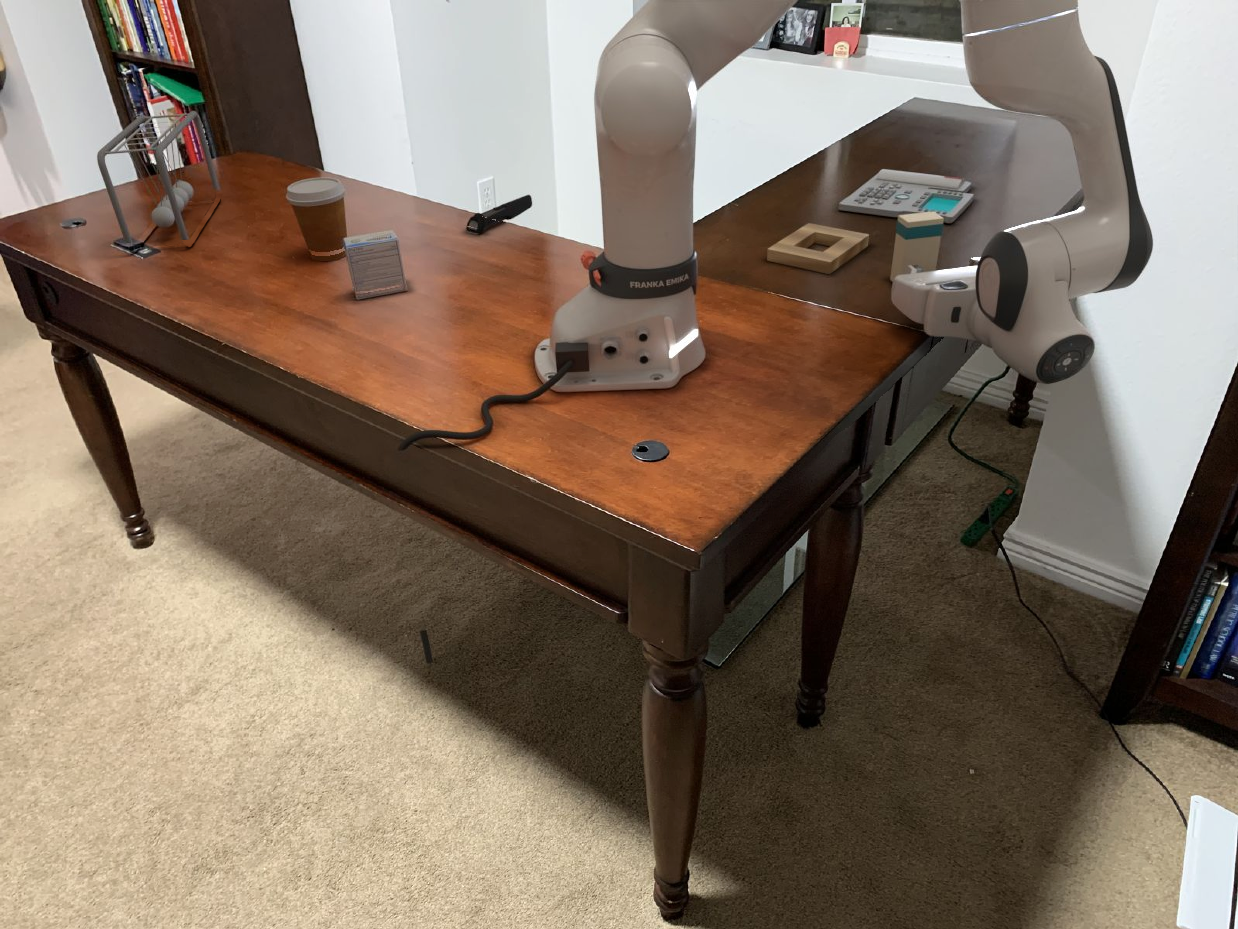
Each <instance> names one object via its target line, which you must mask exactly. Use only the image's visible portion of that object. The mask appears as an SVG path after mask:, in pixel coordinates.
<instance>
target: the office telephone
mask: <svg viewBox="0 0 1238 929" xmlns="http://www.w3.org/2000/svg"><path fill="white" fill-rule="evenodd" d="M971 185H972V182H970V181H966V179H965V178H963V177H955V176H947V175H938V174H928V173H920V172H911V171H903V170H895V169H887V168H886V169H885V168H882V169H881V170H879V171H878V173H876V174H875V175H874V176H873V177H871V178H870V179H869V180H868V181H866V182H865V183H864V184H863V185H861V186H860V187H859V188H858V189H856V190H855V191H854V192H853V193H851V194H850V195H848V196H847V197H845V198H844V199H842V200H841V201H840V202H839V203H838V208H837V209H838V210H840V211H844V212H851V213H852V212H853V213H860V214H868V215H876V216H883V217H891V218H898V215H906V214H915V213H924V212H935V213H937V214H938V215H940V216H941V217H943V218H944V220H943V223H945V224H952V223H953V222H955V221H956V220H957V219H958V218H959V217H960V216H961V215H962V214H963V212H964V211H966V209H967V208H968V207H969V206H970V205H971V203H973V199H974V193H968V192H969V191H970V190H971Z"/></svg>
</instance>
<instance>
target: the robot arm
mask: <svg viewBox="0 0 1238 929" xmlns="http://www.w3.org/2000/svg"><path fill="white" fill-rule="evenodd" d="M798 1H799V0H648V1H647V2H646V3H644V4H643V6H642V7H640V9H639V10H638V11H637V12H636V13H635V14H634V15H633V16H632V17H631V18H629V20H628V21H627V22H626V23H625V24H624V25H623V27H621V28H620V30H619V31H617V33H616V34H615V35H614V36H613V37H612V38H611V39H610V41H608V43H607V44H606V46H605V47H604V49H603V51H602V52H601V54H600V57H599V60H598V63H597V68H596V70H597V71H596V77H595V85H594V93H593V104H594V105H593V107H594V121H595V123H594V124H595V138H596V149H597V150H596V151H597V162H598V175H599V176H598V177H599V186H600V187H599V188H600V203H601V220H602V221H601V222H602V223H601V224H602V240H603V251H602V252H601V253H600V254H599V255H598V256H597V255H596V254H595V253H594V251H592V250H584V251H583V252H582V254H581V255H580V259H579V260H580V262H581V264H582V267H583V268H584V269H585V270H586V271H588V280H589V283H588V284H587V285H586V286H584V287H583V288H582V289H581V290H580V291H578V292H577V293H576V294H575V295H574V296H572V297H571V298H570V299H568V300H567V301H566V302H564V303H563V304H562V305H561V306H559V307H558V308H557V310H555V313H554V315H553V317H552V321H551V325H550V332H549V338H545V339H543V340H541V342H540V343H539V344H537V347H536V348H535V351H534V368H535V372H536V375H537V377H538V379H539V380H540V381H541V383H542V385H541V386H539V387H538V388H536V389H535V390H533V391H531V392H528V393H525V394H497V395H493V396H490V397H488V398H487V399H485V400H484V401H483V402H482V403H481V406H480V412H481V415H482V417H483V419H484V422H485V425H484V426H483V427H482V428H480V429H478V430H473V431H467V432H465V431H451V430H443V429H442V430H441V429H424V430H419V431H417V432H414V433H412V434H410V435H409V436H408V437H406V438H405V439H403V441H402V442H401V443H400V444H399V445H398V448H397V451H400V452H401V451H405V450H407V449H408V448H409V447H410V446H411V445H412V444H414V443H415V442H417V441H419V440H422V439H423V440H424V439H430V438H431V439H432V438H434V439H445V440H457V441H470V440H471V441H472V440H476V439H479V438H482V437H484V436H486V435H487V434H489V433H490V432H491V431H492V429H493V426H494V420H493V417H492V415H491V412H490V410H489V408H490V407H491V406H492V405H493V404H497V403H525V402H529V401H532V400H535V399H537V398H538V397H540V396H542V395H544V394H545V393H547V392H548V391H549V390H552V391H554V392H557V393H574V392H576V393H577V392H602V391H603V392H604V391H628V390H629V391H630V390H631V391H633V390H655V389H658V390H660V389H671V388H673V387H674V386H676V385H677V384H678V383H679V382H680V380H681V379H682V377H684V376H685V375H687V374H689V373H691V372H693V371H694V370H696V369H697V368H698V367H699V366H701V365H702V363H703V362H704V360H705V359H706V355H707V354H706V353H707V352H706V348H705V346H704V343H703V340H702V339H703V338H702V336H701V331H700V328H699V321H698V314H697V307H696V294H697V290H698V288H697V287H698V280H699V274H698V273H699V266H698V265H699V264H698V258H697V251H696V250H694V183H695V169H696V168H695V166H696V150H697V149H696V144H697V122H698V121H697V120H698V118H697V116H698V112H697V111H698V92H699V90H700V89H701V88H702V87H703V86H704V85H706V84H707V83H708V82H709V81H710V80H711V79H712V78H714V77H715V76H716V75H718V73H720V72H721V71H722V70H723V69H724V68H726V67H727V66H728V65H729V64H731V63H732V62H733V61H734V60H736V58H738V57H740V56H741V55H742V54H743V53H745V52H747V51H748V50H750V49H751V48H754V46H756V45H757V44H758V43H759V42H760V41H761V40H762V38H764V37H765V35H766V34H767V33H768V32H769V31H770V30H771V29H772V28H773V27H774V26H775V25H776V24H778V22H779V21H780V20H781V19H782V18H783V17H784V16H785V15H786V14H787V12H789V10H790V9H792V8H793V6H794V5H795V4H797V2H798ZM958 1H959V2H960V18H961V19H960V20H961V35H962V49H963V58H964V66H965V70H966V74H967V79H968V81H969V84H970V86H971V87H972V89H973V91H975V93H976V94H977V95H978V96H979V97H980V98H981V99H982V100H984V101H985V102H987V103H988V104H990V105H992V106H994V107H996V108H998V109H1001V110H1004V111H1007V112H1013V113H1019V114H1025V115H1033V116H1040V117H1045V118H1049V119H1052V120H1055V121H1057V122H1058V123H1060V124H1061V125H1062V126H1063V127H1064V128H1065V129H1066V130H1067V132H1068V133H1069V135H1070V139H1071V141H1072V145H1073V150H1074V155H1075V160H1076V164H1077V171H1078V174H1079V179H1080V183H1081V184H1080V185H1081V188H1082V193H1083V201H1082V203H1081V205H1080V206H1079V207H1078V209H1076V210H1073V211H1070V212H1067V213H1063V214H1060V215H1056V216H1053V217H1049V218H1045V219H1042V220H1036V221H1032V222H1028V223H1024V224H1021V225H1018V226H1015V227H1011V228H1008V229H1005V230H1002V231H1001V230H1000V231H998V232H997V233H995V234H994V235H993V236H992V237H991V238H990V240H989V241H988V242H987V244H986V245H985V247H984V249H983V251H982V253H981V255H980V257H973V258H972V257H971V258H969V263H968V266H964V267H963V266H962V267H955V268H946V269H939V270H936V271H929V272H922V268H921V267H920V266H919V265H910V266H907V267H906V274H903V275H898V276H896V277H895V279H894V281H893V282H892V284H891V291H890V301H891V303H892V305H894V306H895V307H896V309H897V310H898V311H899V312H900V313H902V314H903V315H904V316H906V318H908V319H909V320H910V321H913V322H915V323H916V324H920V325H923V331H924V333H925V334H926V335H928V336H930V337H940V338H941V337H942V338H956V339H963V340H967V341H971V342H972V341H973V342H979V343H981V344H982V345H983V346H985V347H987V348H989V349H992V351H993V353H994V354H995V356H996V357H997V358H998V359H1000V360H1001V361H1002V362H1003V363H1004V364H1006V365H1007V366H1008V367H1009V368H1011V369H1012V370H1014V371H1015V372H1016V373H1018V374H1019V375H1021V376H1023V377H1024V378H1025V379H1028V380H1030V381H1033V382H1035V383H1038V384H1044V385H1050V384H1055V383H1059V382H1062V381H1064V380H1067V379H1069V378H1071V377H1073V376H1075V375H1076V374H1078V373H1079V372H1080V371H1082V370H1083V369H1084V368H1086V366H1087V364H1088V363H1089V362H1090V361H1091V359H1092V357H1093V355H1094V353H1095V348H1096V344H1095V343H1096V342H1095V339H1094V338H1093V336H1092V334H1091V333H1090V332H1089V330H1088V329H1087V328H1086V327H1085V326H1084V325H1083V324H1082V323H1081V322H1080V321H1079V320H1078V319H1077V318H1076V315H1075V313H1074V310H1073V309H1072V308H1073V307H1072V304H1071V302H1070V301H1071V300H1072V299H1073V300H1074V299H1077V298H1080V297H1084V296H1087V295H1090V294H1099V293H1103V292H1104V293H1105V292H1109V291H1114V290H1120V289H1126V288H1127V287H1130V286H1131V285H1134V283H1135V282H1136V281H1137V280H1138V278H1139V277H1140V276H1141V274H1143V272H1144V270H1145V268H1146V267H1147V265H1148V263H1149V261H1150V259H1151V256H1152V253H1153V249H1154V236H1153V233H1152V232H1153V231H1152V229H1151V226H1150V223H1149V220H1148V218H1147V215H1146V212H1145V209H1144V207H1143V205H1142V202H1141V199H1140V195H1139V191H1138V186H1137V179H1136V175H1135V169H1134V164H1133V158H1132V153H1131V147H1130V142H1129V137H1128V131H1127V126H1126V122H1125V116H1124V111H1123V107H1122V102H1121V98H1120V93H1119V89H1118V86H1117V82H1116V79H1115V75H1114V73H1113V71H1112V69H1111V67H1110V65H1109V64H1108V62H1107V61H1106V60H1104V59H1103V58H1102V57H1099V56H1097V55H1094V54H1093V52H1092V51H1091V50H1090V48H1089V46H1088V44H1087V42H1086V40H1085V38H1084V34H1083V32H1082V28H1081V23H1080V16H1079V0H958ZM894 306H893V307H894ZM419 635H420V639H421V643H422V648H423V652H424V653H423V654H424V657H425V662H426V664H432V663H433V661H434V660H433V654H432V649H431V644H430V640H429V634H428V630H427V629H422V630H419Z"/></svg>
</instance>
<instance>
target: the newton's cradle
mask: <svg viewBox="0 0 1238 929" xmlns="http://www.w3.org/2000/svg"><path fill="white" fill-rule="evenodd" d="M176 117H177V119H176V120H173V121H171V123H172V124H171V125H168V126H165V128H167V129H165V130H164V131H161V133H162V134H161V135H160V136H158V137H157V136H155V133H157V134H158V131H153V129H158V128H161V126H155V127H152V124H153V125H154V124H155V122H151V121H152V120H153V119H164V118H176ZM182 118H183V119H182ZM181 119H182V120H181ZM193 120H194V124H195V128H196V131H197V134H198V138H199V142H200V145H201V148H202V153H203V156H204V159H205V163H206V166H207V171H208V172H209V177H210V180H211V183H212V187H213V190H220V191H221V187H220V183H219V180H218V176H217V173H216V170H215V169H216V168H215V166H214V163H213V162H214V161H213V159H212V155H211V151H210V148H209V145H208V141H207V138H206V134H205V130H204V127H203V124H202V120H201V117H200V115H199V113H198V112H197V111H195V110H191V111H190V112H189V113H177V114H165V115H152V116H151V115H150V116H146V115H145V114H141V115H139V116H138V117H137V118H135V119H134V120H133V121H132V122H131V123H129V124H128V125H127V126H126V127H125V128H124V129H122V130H121V131H120V132H119V133H118V134H117V135H116V136H114V137H113V138H112V139H110V141H109V142H108V143H106V144H105V145H104V146H103V147H102V148H100V149H99V150H98V152H97V156H96V160H97V166H98V169H99V172H100V175H101V177H102V180H103V183H104V185H105V189H106V191H107V194H108V197H109V200H110V203H111V205H112V207H113V208H112V209H113V211H114V214H115V217H116V221H117V223H118V226H119V228H120V231H121V234H122V238H123V240H124V242H125V244H126V243H131V242H133V238H132V236H131V234H130V230H129V228H128V225H127V222H126V218H125V215H124V213H123V210H122V207H121V204H120V201H119V199H118V196H117V194H116V190H115V187H114V184H113V182H112V179H111V175H110V173H109V170H108V166H107V164H106V156H107V155H112V154H113V155H116V154H126V153H128V155H129V157H130V159H131V161H132V162H133V164H134V166H135V168H136V170H137V173H138V174H139V176H140V178H141V180H142V181H143V183H144V185H145V187H146V189H147V191H148V193H149V194H150V196H151V198H152V201H153V202H154V204H155V206H156V207H155V208H153V210H152V212H151V220H152V221H153V222H154V223H155V224H156V225H157V227H159V228H162V229H165V228H169V227H171V226H172V225H174V222H175V223H176V226H177V229H178V233H179V236H180V239H181V241H182V240H188V239H189V238H190V237H189V236H188V232H187V229H186V226H185V223H184V219H183V217H182V212H183V210H184V208H185V207H186V206H187V205H188V204H187V203H188V202H190V200H191V199H192V198H193V196H194V192H195V191H194V188H193V186H192V185H191V184H190V183H189V182H187V181H184V180H183V176H182V169H181V168H182V167H181V158H180V150H179V149H180V148H179V141H178V140H179V139H178V136H179V135H180V134H181V133H182V132H183V131H184V130H185V129H186V127H188V126H189V124H190V123H191V122H192V121H193ZM179 121H180V122H179ZM165 123H166V124H167V121H160V122H159V121H158V124H165ZM138 127H139V128H138ZM141 130H142V132H140V131H141ZM139 132H140V133H139ZM141 134H143V135H144V136H145V139H146V140H147V143H148V145H149V147H144V145H143V144H145V142H142V139H144V137H139V135H141ZM129 135H130V136H129ZM135 136H136V137H137V138H135V140H138V141H139V142H138V143H137V142H136V145H141V147H142V148H136V146H135V143H134V142H133V138H134V137H135ZM163 138H164V139H163ZM175 139H176V148H177V154H178V155H177V156H178V165H179V172H180V174H179V175H180V179H179V180H178V177H177V172H176V165H175V164H176V163H175V155H174V154H175V153H174V147H173V146H174V145H173V142H174V140H175ZM129 141H130V142H131V143H128V142H129ZM170 144H171V152H172V161H173V169H174V170H173V169H172V167H171V164H170V161H169V160H170V158H169V150H168V147H169V145H170ZM129 145H130V146H131V145H132V146H133V147H134V149H128V148H127V146H129ZM123 147H124V148H125V149H124V150H121V149H122V148H123ZM165 150H166V154H165V153H164V151H165ZM151 151H152V154H153V158H154V160H155V165H156V167H155V166H154V163H153V161H152V160H151V157H150V156H149V154H148V152H151ZM135 152H136V153H137V155H138V157H139V159H140V161H141V163H142V165H143V166H144V168H145V170H146V172H147V174H148V176H149V177H150V180H151V181H152V183H153V186H154V187H155V190H156V191H157V193H158V194H159V199H160V201H159V203H157V202H156V200H155V198H154V196H153V194H152V192H151V190H150V189H149V187H148V185H147V183H146V181H145V179H144V178H143V175H142V173H141V171H140V170H139V168H138V166H137V163H136V162H135V161H134V158H133V157H132V155H131V153H135ZM139 152H145V154H146V157H147V158H148V160H149V162H150V163H151V165H152V167H153V169H154V171H155V173H156V175H157V183H158V187H157V185H156V183H155V181H154V180H153V178H152V175H151V174H150V172H149V170H148V168H147V165H145V163H144V161H143V159H142V157H141V155H140V154H139ZM165 161H166V162H167V165H166V162H165ZM167 167H168V168H167ZM171 172H172V174H173V176H174V179H175V183H174V184H172V178H171ZM160 184H162V187H163V188H164V192H165V196H163V197H162V193H161V185H160Z"/></svg>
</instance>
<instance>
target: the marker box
mask: <svg viewBox="0 0 1238 929" xmlns="http://www.w3.org/2000/svg"><path fill="white" fill-rule="evenodd" d="M943 220H944V218H943V217H941V216H940V215H938V214H937V213H935V212H924V213H915V214H906V215H898V217H897V220H896V228H895V238H894V239H895V240H894V247H893V254H892V264H891V269H890V278H889V280H890V281H891V282H892V283H893V281H894V279H895V277H896V276H898V275H903V274H906V267H907V266H910V265H919V266H920V267H921V268H922V272H929V271H937V264H938V258H939V252H940V245H941V240H942V235H943V230H944V222H943Z"/></svg>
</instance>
